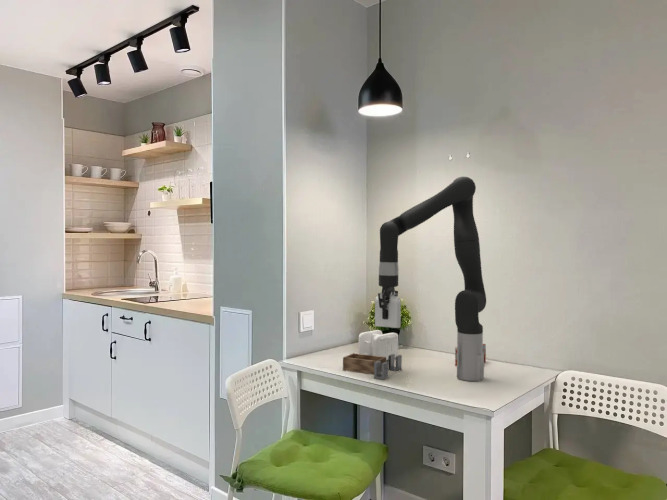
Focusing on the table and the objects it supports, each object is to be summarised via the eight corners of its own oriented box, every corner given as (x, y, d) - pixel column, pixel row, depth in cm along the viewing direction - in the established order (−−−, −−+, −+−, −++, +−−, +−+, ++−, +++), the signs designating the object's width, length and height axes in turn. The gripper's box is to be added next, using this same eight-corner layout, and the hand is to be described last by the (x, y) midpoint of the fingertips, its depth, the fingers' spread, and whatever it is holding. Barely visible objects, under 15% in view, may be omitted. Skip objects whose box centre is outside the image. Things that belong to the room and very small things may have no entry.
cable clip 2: (401, 369, 211) (401, 354, 211) (397, 371, 208) (397, 356, 208) (392, 368, 213) (392, 353, 213) (388, 370, 210) (388, 355, 210)
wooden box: (386, 369, 211) (386, 357, 211) (376, 374, 203) (377, 361, 203) (352, 365, 218) (353, 353, 217) (342, 370, 210) (343, 357, 210)
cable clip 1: (388, 377, 199) (388, 362, 199) (383, 379, 195) (384, 364, 195) (378, 376, 201) (378, 360, 201) (373, 378, 197) (374, 362, 197)
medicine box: (467, 359, 230) (467, 341, 230) (486, 362, 226) (486, 343, 225) (454, 366, 218) (454, 347, 218) (473, 369, 213) (473, 349, 213)
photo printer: (373, 326, 205) (373, 294, 204) (377, 324, 208) (377, 293, 208) (398, 328, 200) (398, 296, 199) (402, 327, 204) (402, 295, 203)
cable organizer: (380, 354, 238) (380, 329, 238) (399, 358, 230) (399, 332, 230) (357, 360, 227) (358, 333, 227) (376, 364, 220) (376, 336, 220)
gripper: (390, 275, 195) (389, 321, 196) (404, 273, 208) (404, 316, 208) (371, 274, 199) (371, 319, 200) (387, 272, 212) (386, 315, 212)
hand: (387, 318), depth 204 cm, fingers closed on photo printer, 4 cm apart
